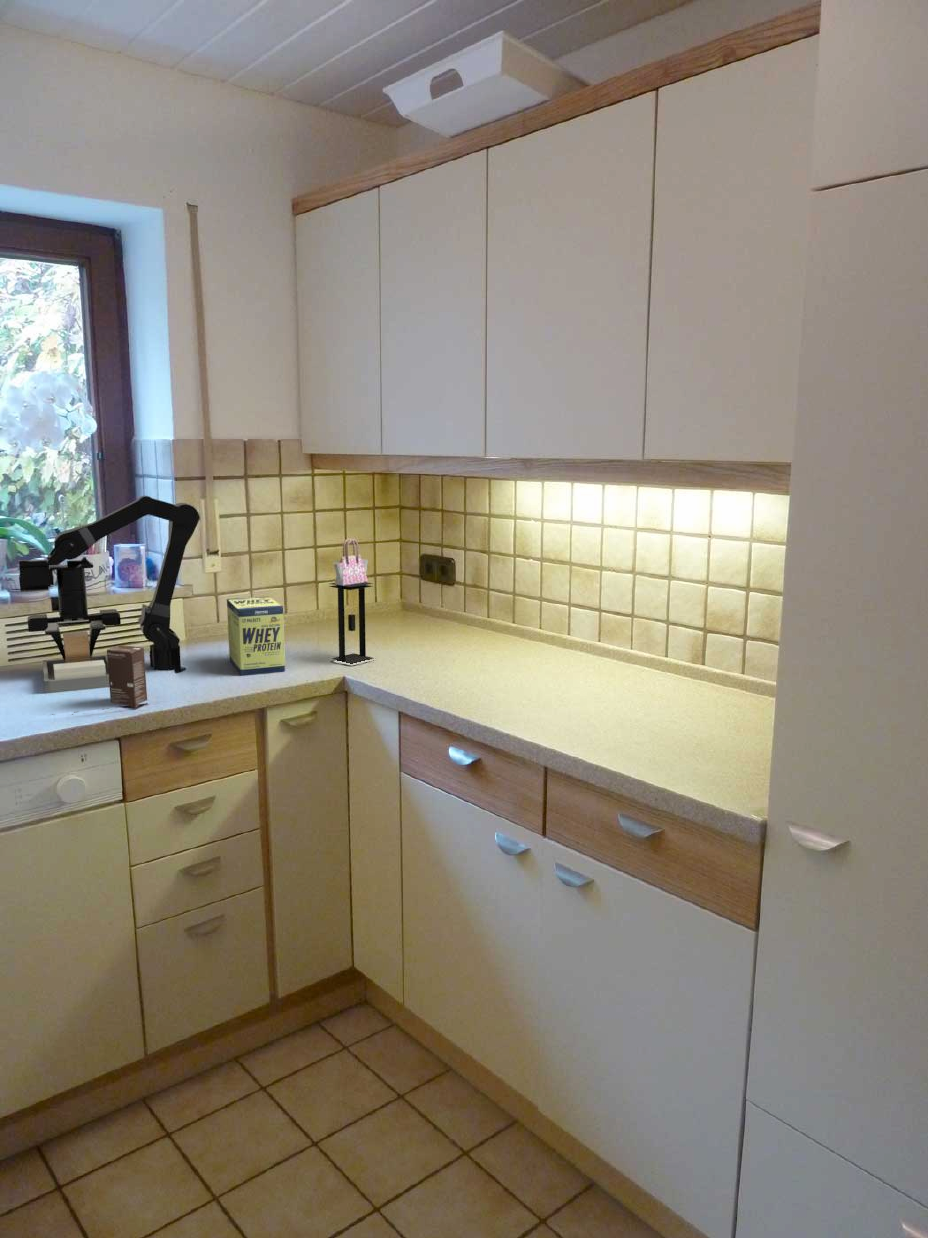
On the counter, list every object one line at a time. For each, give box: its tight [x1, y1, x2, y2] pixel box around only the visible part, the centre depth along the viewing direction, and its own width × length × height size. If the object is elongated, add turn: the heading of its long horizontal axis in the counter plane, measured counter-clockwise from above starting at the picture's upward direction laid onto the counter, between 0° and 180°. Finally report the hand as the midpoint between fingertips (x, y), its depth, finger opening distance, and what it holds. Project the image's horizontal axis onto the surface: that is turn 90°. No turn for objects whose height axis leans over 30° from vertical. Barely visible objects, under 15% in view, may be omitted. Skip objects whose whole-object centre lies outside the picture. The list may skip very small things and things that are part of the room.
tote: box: [42, 654, 110, 695], centre depth 204 cm, size 20×14×4 cm
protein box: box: [226, 596, 286, 677], centre depth 218 cm, size 10×16×16 cm
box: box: [106, 644, 148, 710], centre depth 186 cm, size 6×4×12 cm
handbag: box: [328, 538, 375, 664], centre depth 222 cm, size 10×8×30 cm
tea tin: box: [62, 630, 90, 663], centre depth 205 cm, size 5×5×7 cm
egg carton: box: [53, 660, 106, 680], centre depth 198 cm, size 5×10×4 cm, turn 115°
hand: (77, 658), depth 206 cm, fingers closed on tea tin, 5 cm apart
